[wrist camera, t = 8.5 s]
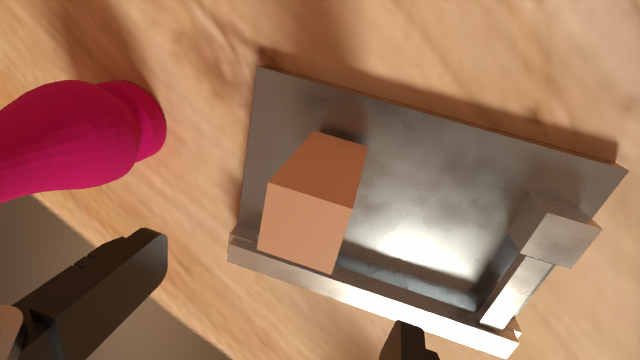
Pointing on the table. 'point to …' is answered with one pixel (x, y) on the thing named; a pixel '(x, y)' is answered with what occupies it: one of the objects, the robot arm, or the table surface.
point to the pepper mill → (76, 136)
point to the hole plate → (426, 209)
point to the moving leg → (312, 201)
